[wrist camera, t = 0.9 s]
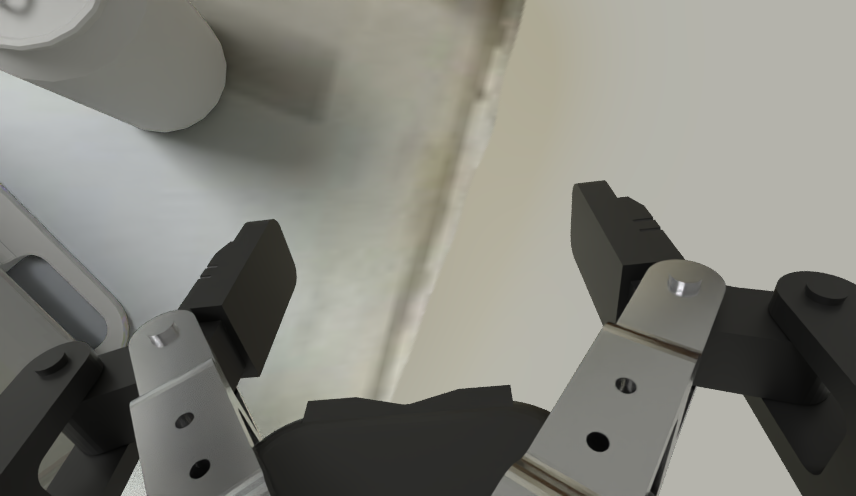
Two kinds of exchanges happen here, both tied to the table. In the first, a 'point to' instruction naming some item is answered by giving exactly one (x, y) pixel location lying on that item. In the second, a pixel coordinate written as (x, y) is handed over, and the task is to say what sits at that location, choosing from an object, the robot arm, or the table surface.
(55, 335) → the network device
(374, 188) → the table surface
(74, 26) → the can
